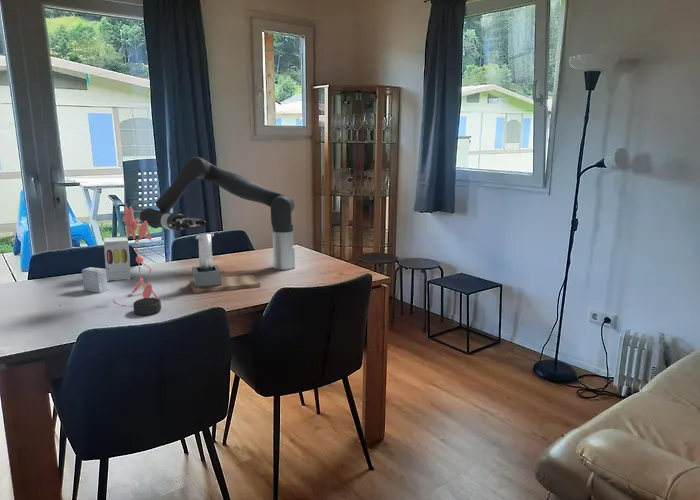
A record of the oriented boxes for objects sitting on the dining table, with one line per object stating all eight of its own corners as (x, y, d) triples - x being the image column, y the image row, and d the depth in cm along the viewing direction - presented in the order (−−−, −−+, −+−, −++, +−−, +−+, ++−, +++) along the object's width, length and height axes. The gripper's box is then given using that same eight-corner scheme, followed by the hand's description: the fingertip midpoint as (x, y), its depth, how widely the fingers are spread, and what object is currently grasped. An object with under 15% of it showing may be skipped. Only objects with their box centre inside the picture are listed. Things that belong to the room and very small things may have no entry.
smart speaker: (158, 315, 179) (157, 304, 178) (131, 316, 178) (130, 305, 177) (163, 307, 187) (163, 296, 187) (137, 308, 186) (136, 297, 185)
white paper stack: (108, 290, 206) (106, 268, 204) (99, 293, 202) (97, 271, 200) (92, 288, 209) (90, 266, 207) (83, 291, 205) (81, 269, 203)
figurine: (144, 286, 211) (135, 199, 203) (167, 303, 191) (158, 208, 183) (103, 294, 202) (92, 203, 193) (123, 312, 182) (112, 212, 174)
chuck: (217, 279, 218) (217, 265, 216) (221, 285, 209) (220, 270, 207) (192, 281, 214) (191, 267, 213) (195, 288, 205) (194, 273, 204)
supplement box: (106, 281, 218) (102, 241, 214) (106, 276, 226) (103, 237, 222) (131, 279, 222) (128, 240, 218) (130, 273, 230) (127, 236, 226)
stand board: (252, 278, 225) (252, 274, 225) (260, 286, 213) (260, 283, 213) (189, 283, 216) (189, 280, 216) (193, 293, 203) (193, 289, 203)
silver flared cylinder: (211, 280, 216) (209, 232, 212) (219, 282, 213) (217, 233, 209) (194, 284, 210) (191, 235, 205) (202, 286, 207) (199, 236, 202)
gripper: (158, 215, 224) (182, 218, 214) (186, 211, 235) (210, 214, 226) (160, 232, 225) (183, 236, 216) (187, 227, 237) (211, 231, 227)
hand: (197, 225), depth 221 cm, fingers open, 8 cm apart
